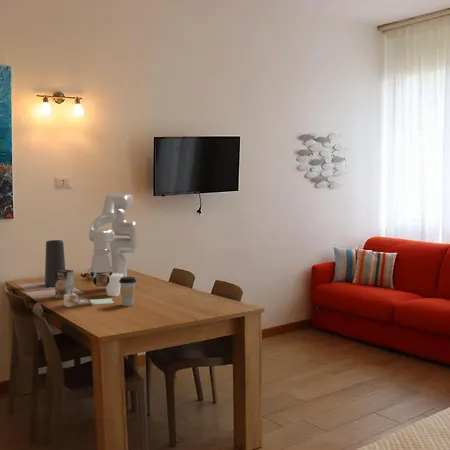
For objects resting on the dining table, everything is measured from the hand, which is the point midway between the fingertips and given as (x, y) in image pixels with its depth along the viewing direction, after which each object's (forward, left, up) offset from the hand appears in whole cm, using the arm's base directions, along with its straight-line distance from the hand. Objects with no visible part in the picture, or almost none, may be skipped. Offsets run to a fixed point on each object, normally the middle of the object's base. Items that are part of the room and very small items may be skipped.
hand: (101, 284), depth 340 cm
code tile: (+12, -6, -10) cm, 17 cm away
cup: (-9, -18, -11) cm, 23 cm away
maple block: (+17, +3, -11) cm, 20 cm away
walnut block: (0, 0, -1) cm, 1 cm away
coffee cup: (-13, +11, -11) cm, 20 cm away
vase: (+22, -60, -11) cm, 65 cm away
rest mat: (0, 0, -10) cm, 10 cm away
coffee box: (+19, -20, -11) cm, 30 cm away
